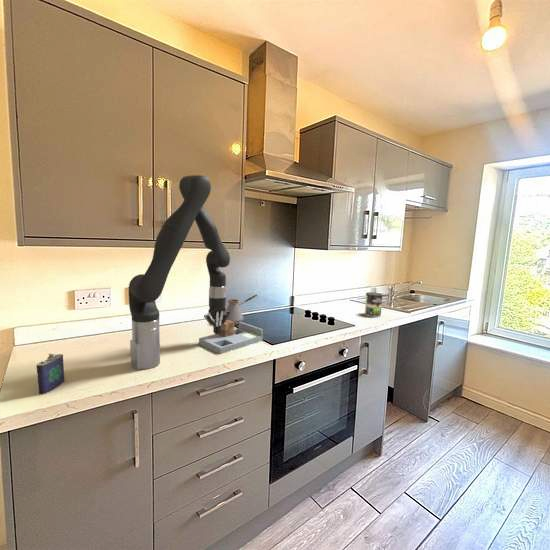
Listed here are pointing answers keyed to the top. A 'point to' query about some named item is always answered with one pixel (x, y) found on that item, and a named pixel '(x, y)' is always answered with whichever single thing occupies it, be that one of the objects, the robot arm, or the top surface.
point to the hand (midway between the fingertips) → (216, 333)
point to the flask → (50, 373)
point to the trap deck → (233, 339)
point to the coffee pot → (236, 310)
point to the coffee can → (373, 304)
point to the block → (227, 328)
